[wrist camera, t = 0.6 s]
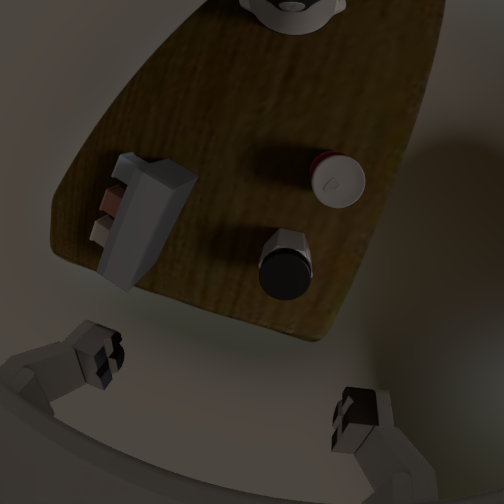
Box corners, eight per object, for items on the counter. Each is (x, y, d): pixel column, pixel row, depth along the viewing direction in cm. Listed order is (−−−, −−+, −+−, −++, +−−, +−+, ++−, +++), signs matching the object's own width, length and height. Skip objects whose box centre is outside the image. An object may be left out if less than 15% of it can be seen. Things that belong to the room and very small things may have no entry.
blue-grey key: (123, 172, 54) (111, 176, 50) (132, 151, 52) (120, 154, 48) (154, 191, 55) (144, 196, 51) (164, 170, 53) (154, 174, 49)
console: (128, 246, 64) (96, 271, 52) (167, 158, 55) (135, 167, 43) (155, 263, 64) (127, 292, 52) (198, 176, 56) (172, 189, 44)
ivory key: (101, 232, 60) (89, 239, 55) (107, 214, 58) (95, 220, 54) (129, 250, 60) (118, 259, 56) (136, 233, 58) (125, 241, 54)
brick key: (111, 203, 57) (99, 209, 53) (118, 184, 55) (106, 189, 51) (140, 222, 57) (130, 229, 53) (149, 203, 56) (138, 209, 52)
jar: (315, 264, 59) (318, 295, 48) (274, 275, 61) (269, 308, 50) (301, 221, 57) (302, 244, 46) (259, 234, 59) (250, 259, 48)
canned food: (299, 176, 54) (300, 186, 43) (327, 141, 51) (335, 143, 40) (333, 202, 55) (341, 219, 44) (361, 168, 51) (376, 178, 41)
